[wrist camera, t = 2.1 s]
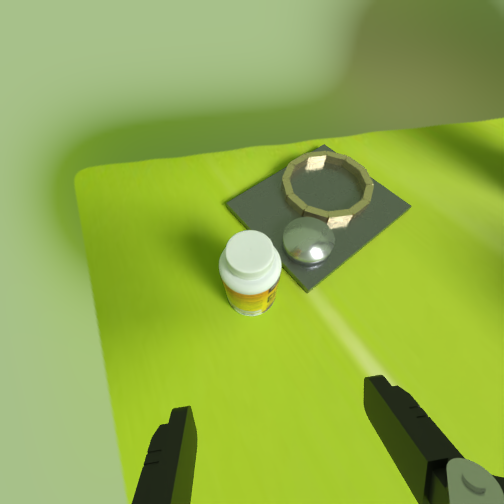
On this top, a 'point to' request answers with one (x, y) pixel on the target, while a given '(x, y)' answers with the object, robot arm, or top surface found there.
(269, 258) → the supplement bottle
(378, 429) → the robot arm
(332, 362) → the top surface
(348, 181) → the carrier plate
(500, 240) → the top surface
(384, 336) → the top surface
